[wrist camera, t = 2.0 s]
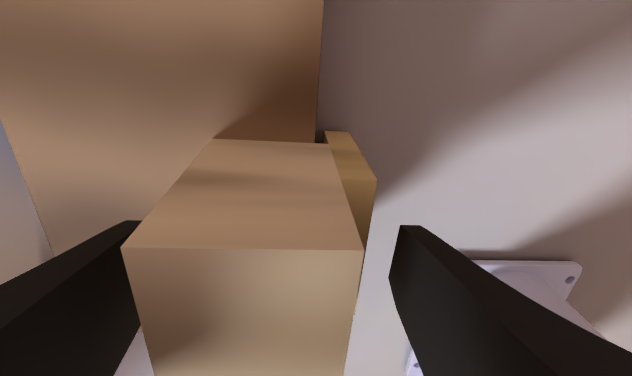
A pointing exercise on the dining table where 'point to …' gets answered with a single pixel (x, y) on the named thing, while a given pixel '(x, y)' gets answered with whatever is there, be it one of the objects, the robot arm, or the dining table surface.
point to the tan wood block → (254, 259)
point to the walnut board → (145, 96)
